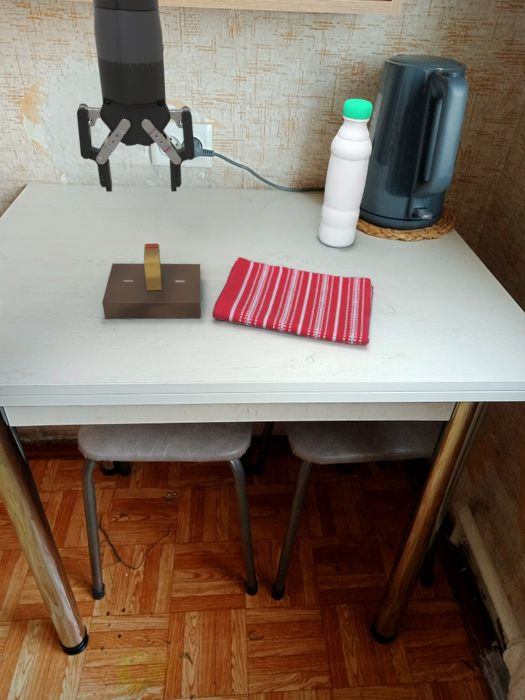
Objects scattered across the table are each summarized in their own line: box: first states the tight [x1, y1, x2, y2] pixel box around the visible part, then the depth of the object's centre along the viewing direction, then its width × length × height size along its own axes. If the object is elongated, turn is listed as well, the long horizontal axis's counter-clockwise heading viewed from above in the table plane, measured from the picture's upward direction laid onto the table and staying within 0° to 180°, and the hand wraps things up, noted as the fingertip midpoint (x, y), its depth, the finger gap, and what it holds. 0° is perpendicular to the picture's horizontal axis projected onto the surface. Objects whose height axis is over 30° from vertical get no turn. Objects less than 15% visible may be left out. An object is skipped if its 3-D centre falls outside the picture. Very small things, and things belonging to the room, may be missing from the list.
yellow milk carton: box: [143, 242, 162, 290], centre depth 76 cm, size 5×2×5 cm, turn 10°
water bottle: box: [317, 98, 373, 249], centre depth 91 cm, size 7×7×25 cm
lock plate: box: [101, 262, 202, 320], centre depth 79 cm, size 14×11×3 cm
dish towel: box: [211, 256, 374, 346], centre depth 80 cm, size 17×24×3 cm
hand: (142, 189), depth 69 cm, fingers open, 8 cm apart
